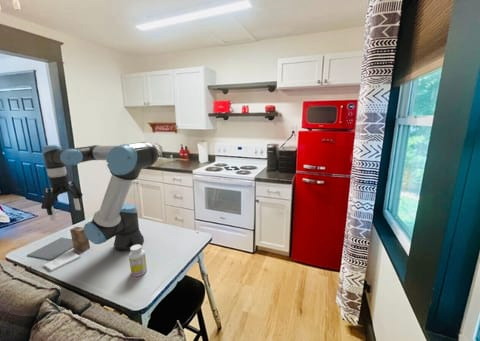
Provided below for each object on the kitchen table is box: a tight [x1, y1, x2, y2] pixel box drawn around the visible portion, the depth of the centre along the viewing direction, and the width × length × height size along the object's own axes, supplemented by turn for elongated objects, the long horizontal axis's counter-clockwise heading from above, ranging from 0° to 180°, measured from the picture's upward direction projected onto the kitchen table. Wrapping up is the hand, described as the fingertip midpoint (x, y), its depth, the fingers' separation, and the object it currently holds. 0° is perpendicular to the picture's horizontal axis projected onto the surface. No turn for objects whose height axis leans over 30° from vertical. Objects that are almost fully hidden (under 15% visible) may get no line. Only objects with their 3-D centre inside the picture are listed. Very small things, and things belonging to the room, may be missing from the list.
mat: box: [26, 237, 74, 261], centre depth 126 cm, size 16×18×1 cm
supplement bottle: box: [128, 244, 148, 277], centre depth 105 cm, size 7×7×13 cm
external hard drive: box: [43, 251, 81, 272], centre depth 114 cm, size 2×8×12 cm
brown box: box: [69, 226, 91, 253], centre depth 124 cm, size 7×4×12 cm, turn 76°
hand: (66, 214), depth 121 cm, fingers open, 13 cm apart
